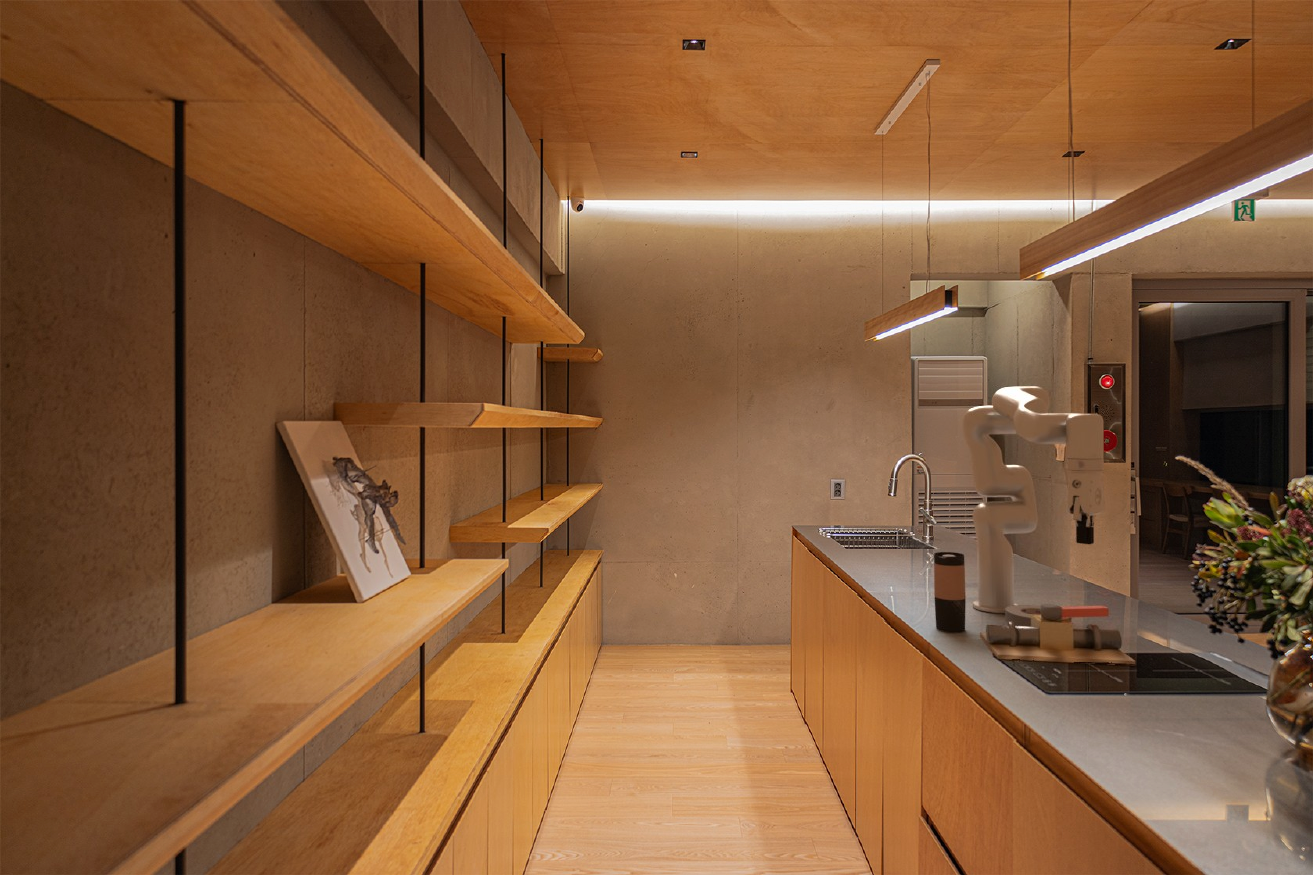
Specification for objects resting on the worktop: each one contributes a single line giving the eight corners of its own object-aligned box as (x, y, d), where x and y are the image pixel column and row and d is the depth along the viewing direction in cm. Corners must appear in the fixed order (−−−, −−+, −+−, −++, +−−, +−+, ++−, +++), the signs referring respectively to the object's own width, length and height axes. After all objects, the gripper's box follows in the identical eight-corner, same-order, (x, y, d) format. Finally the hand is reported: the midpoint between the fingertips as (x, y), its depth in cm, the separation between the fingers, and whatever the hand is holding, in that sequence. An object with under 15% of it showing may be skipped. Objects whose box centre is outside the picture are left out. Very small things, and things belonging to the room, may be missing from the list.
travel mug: (960, 625, 187) (959, 551, 188) (970, 633, 180) (968, 556, 180) (931, 625, 188) (929, 551, 188) (940, 633, 181) (938, 556, 181)
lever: (1047, 619, 163) (1047, 608, 163) (1036, 615, 167) (1036, 604, 167) (1111, 618, 163) (1111, 607, 163) (1099, 613, 167) (1099, 602, 167)
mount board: (997, 658, 159) (997, 654, 159) (980, 636, 177) (979, 632, 177) (1135, 665, 153) (1135, 660, 153) (1102, 641, 170) (1102, 637, 170)
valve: (992, 651, 165) (991, 619, 165) (985, 642, 171) (984, 612, 172) (1124, 657, 158) (1123, 624, 158) (1111, 648, 165) (1111, 617, 165)
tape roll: (1074, 628, 184) (1074, 608, 184) (1068, 642, 171) (1068, 621, 171) (1010, 620, 193) (1010, 601, 193) (1000, 633, 180) (999, 613, 180)
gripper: (1090, 468, 156) (1090, 549, 156) (1114, 464, 165) (1114, 541, 165) (1054, 467, 161) (1054, 545, 162) (1079, 463, 171) (1079, 537, 171)
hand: (1085, 543), depth 164 cm, fingers closed
